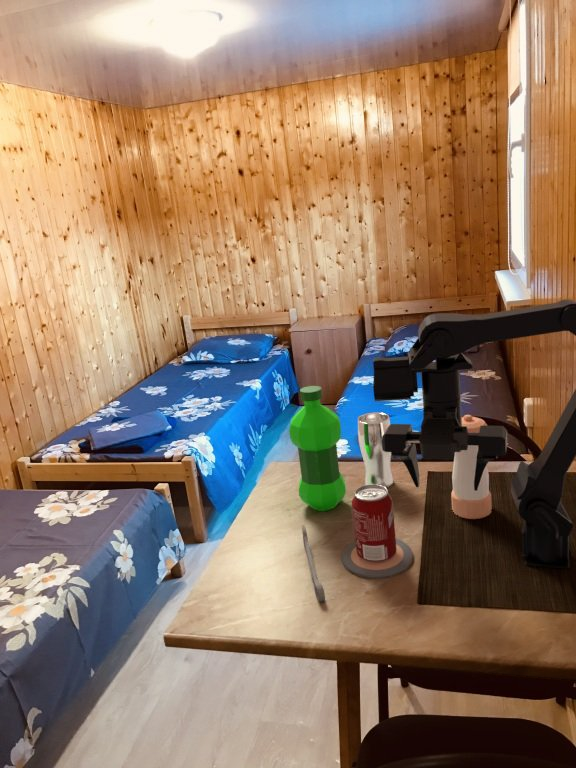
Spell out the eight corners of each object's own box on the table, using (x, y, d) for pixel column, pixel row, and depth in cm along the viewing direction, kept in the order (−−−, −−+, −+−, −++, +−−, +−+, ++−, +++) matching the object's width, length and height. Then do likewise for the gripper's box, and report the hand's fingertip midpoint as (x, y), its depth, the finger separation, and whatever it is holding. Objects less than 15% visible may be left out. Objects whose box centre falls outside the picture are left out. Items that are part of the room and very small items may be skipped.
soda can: (389, 569, 102) (383, 503, 98) (351, 562, 105) (344, 498, 101) (402, 547, 107) (397, 485, 104) (365, 541, 110) (359, 480, 107)
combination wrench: (323, 586, 95) (307, 521, 114) (315, 588, 95) (300, 522, 114) (326, 607, 96) (309, 538, 115) (318, 608, 96) (302, 539, 115)
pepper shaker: (453, 519, 115) (448, 423, 110) (450, 500, 122) (445, 409, 117) (494, 518, 114) (491, 421, 108) (489, 499, 121) (486, 407, 115)
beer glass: (400, 478, 134) (395, 413, 130) (387, 492, 129) (382, 425, 124) (371, 474, 138) (365, 410, 134) (357, 487, 132) (351, 422, 128)
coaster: (418, 542, 109) (417, 538, 109) (405, 582, 99) (405, 578, 99) (352, 536, 114) (352, 533, 114) (333, 574, 103) (333, 570, 103)
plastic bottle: (308, 491, 133) (294, 381, 126) (355, 494, 129) (344, 381, 122) (291, 514, 125) (275, 397, 117) (341, 518, 121) (328, 397, 113)
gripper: (370, 414, 92) (378, 508, 96) (503, 415, 85) (505, 517, 89) (386, 390, 102) (393, 476, 106) (506, 390, 95) (508, 482, 99)
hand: (446, 487), depth 100 cm, fingers open, 9 cm apart
